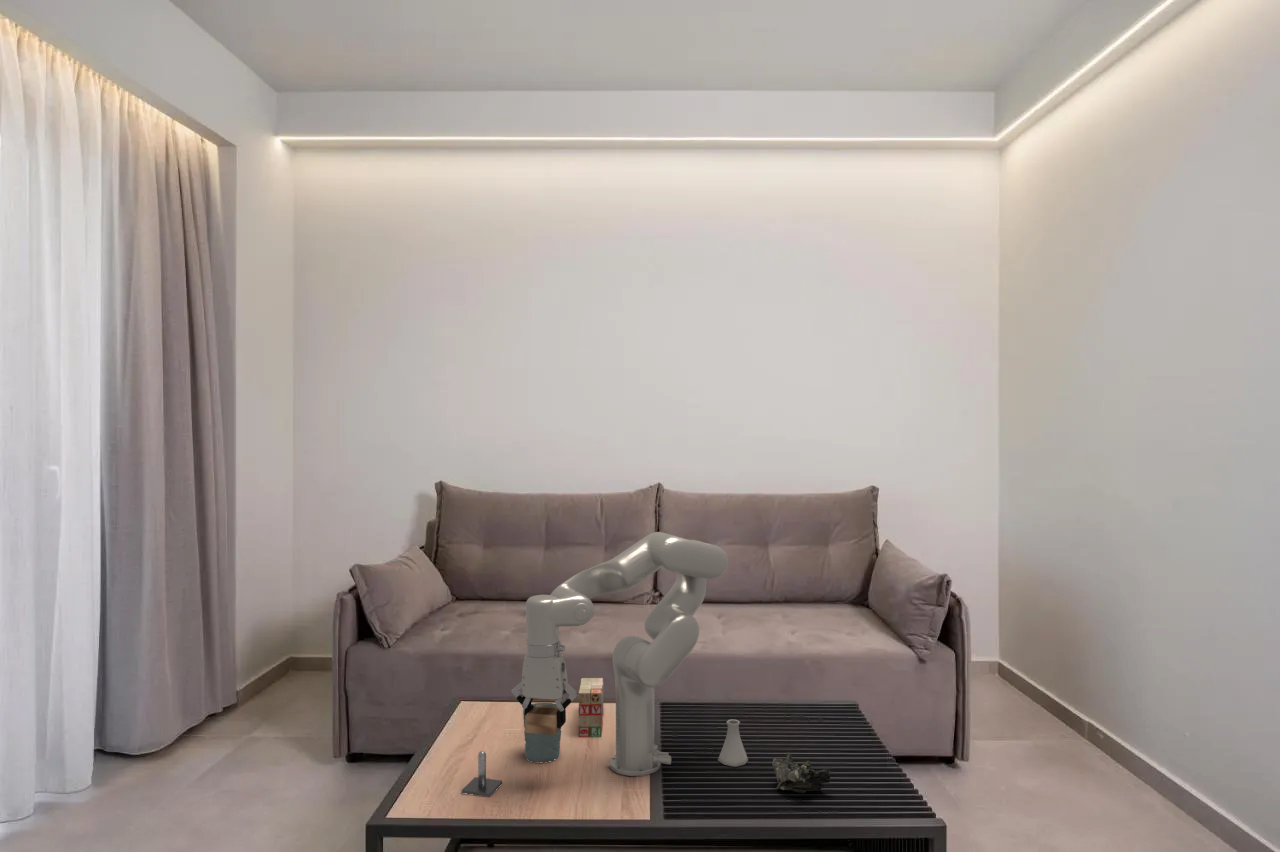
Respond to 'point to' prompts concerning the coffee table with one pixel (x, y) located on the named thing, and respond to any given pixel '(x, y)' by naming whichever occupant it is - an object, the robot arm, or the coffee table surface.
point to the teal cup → (542, 744)
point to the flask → (733, 746)
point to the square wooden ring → (542, 720)
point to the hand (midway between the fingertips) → (545, 724)
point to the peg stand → (482, 780)
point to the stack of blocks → (591, 707)
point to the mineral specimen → (798, 775)
